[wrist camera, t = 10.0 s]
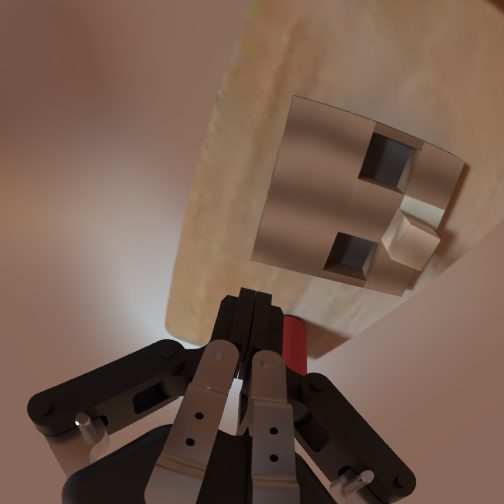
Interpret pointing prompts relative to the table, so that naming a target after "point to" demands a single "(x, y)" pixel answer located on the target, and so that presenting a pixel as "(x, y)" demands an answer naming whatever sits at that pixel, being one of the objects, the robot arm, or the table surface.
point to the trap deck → (348, 196)
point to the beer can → (294, 345)
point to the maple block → (410, 240)
